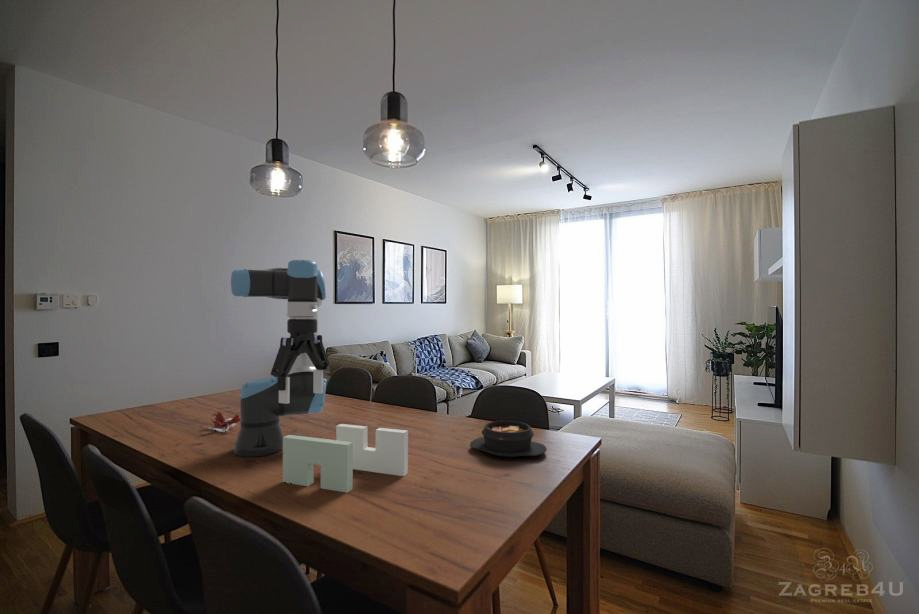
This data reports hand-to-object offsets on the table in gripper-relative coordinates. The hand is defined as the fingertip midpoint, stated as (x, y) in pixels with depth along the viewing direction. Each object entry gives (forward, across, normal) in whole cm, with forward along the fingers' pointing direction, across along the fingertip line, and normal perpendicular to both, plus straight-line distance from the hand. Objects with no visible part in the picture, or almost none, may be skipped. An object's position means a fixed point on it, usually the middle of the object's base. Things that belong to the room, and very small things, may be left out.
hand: (302, 397), depth 112 cm
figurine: (+23, +31, +61) cm, 72 cm away
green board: (+23, 0, -5) cm, 23 cm away
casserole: (+23, +42, -47) cm, 67 cm away
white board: (+23, +14, -13) cm, 30 cm away
